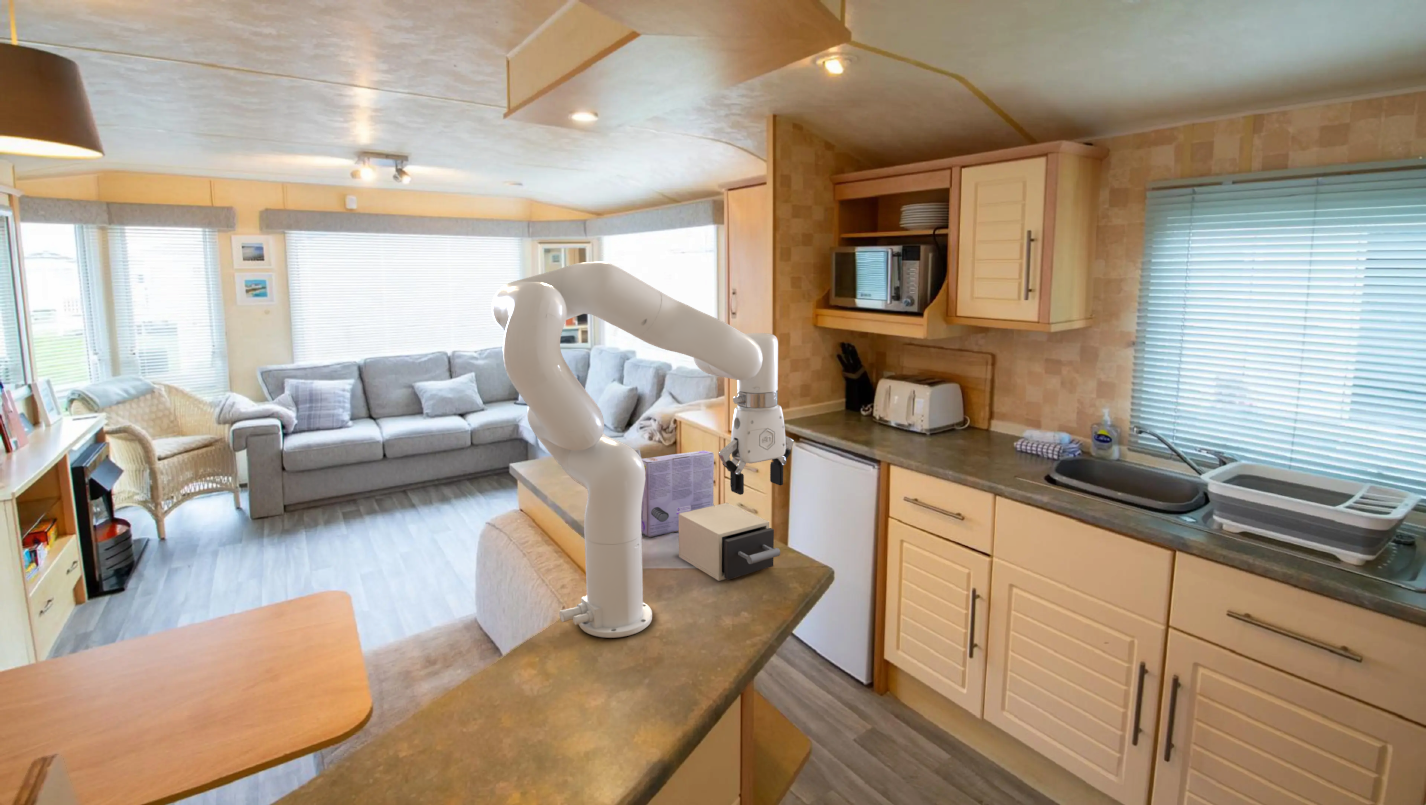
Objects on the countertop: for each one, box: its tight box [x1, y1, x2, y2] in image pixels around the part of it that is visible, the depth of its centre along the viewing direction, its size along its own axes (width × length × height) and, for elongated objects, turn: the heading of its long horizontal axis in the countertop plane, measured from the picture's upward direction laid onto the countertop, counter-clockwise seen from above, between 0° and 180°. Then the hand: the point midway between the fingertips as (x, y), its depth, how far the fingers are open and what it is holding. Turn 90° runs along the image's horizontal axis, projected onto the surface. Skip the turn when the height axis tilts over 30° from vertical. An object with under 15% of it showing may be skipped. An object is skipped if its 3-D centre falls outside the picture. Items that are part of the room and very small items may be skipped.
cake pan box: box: [641, 450, 715, 538], centre depth 163 cm, size 19×5×18 cm, turn 123°
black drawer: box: [722, 527, 781, 580], centre depth 140 cm, size 18×11×8 cm, turn 35°
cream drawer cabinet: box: [678, 502, 770, 582], centre depth 144 cm, size 15×13×10 cm
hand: (757, 488), depth 133 cm, fingers open, 9 cm apart
